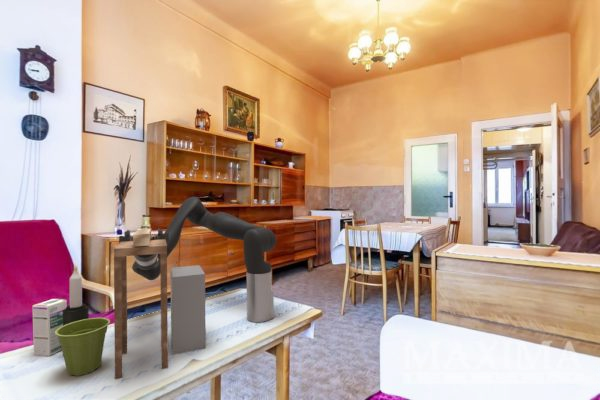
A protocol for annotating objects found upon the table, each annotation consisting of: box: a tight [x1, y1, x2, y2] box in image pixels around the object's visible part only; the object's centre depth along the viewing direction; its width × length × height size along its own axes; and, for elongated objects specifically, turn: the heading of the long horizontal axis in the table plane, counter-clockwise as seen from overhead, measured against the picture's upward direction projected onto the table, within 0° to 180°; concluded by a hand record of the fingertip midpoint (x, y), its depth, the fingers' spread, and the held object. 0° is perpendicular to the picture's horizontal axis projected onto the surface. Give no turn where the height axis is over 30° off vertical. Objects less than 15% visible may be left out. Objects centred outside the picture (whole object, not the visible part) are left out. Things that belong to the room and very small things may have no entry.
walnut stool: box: [113, 239, 169, 380], centre depth 86 cm, size 12×15×32 cm
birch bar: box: [132, 228, 152, 247], centre depth 90 cm, size 4×24×3 cm, turn 25°
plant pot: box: [55, 317, 111, 377], centre depth 81 cm, size 12×12×11 cm
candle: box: [63, 265, 90, 326], centre depth 90 cm, size 5×5×25 cm
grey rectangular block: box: [169, 264, 207, 355], centre depth 97 cm, size 9×14×22 cm, turn 25°
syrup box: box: [31, 298, 68, 357], centre depth 91 cm, size 6×6×14 cm
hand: (144, 232), depth 95 cm, fingers open, 8 cm apart
